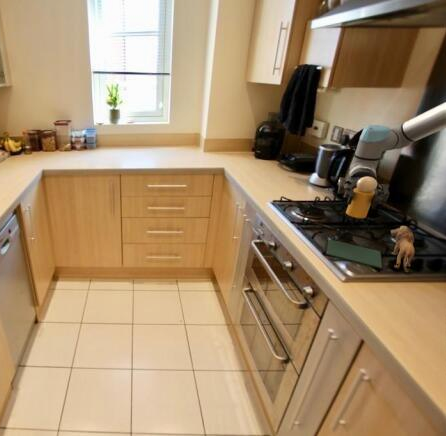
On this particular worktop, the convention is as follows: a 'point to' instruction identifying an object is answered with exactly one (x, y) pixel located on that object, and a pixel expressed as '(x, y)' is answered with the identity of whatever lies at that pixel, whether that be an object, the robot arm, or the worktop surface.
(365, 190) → the peg doll
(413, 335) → the worktop surface
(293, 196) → the worktop surface
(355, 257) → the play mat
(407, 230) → the lion figurine
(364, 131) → the robot arm
